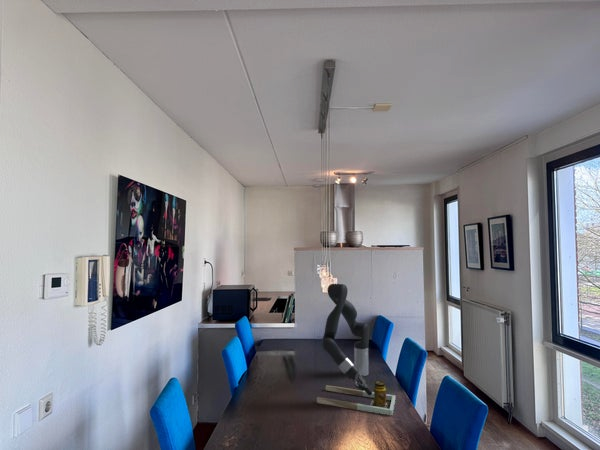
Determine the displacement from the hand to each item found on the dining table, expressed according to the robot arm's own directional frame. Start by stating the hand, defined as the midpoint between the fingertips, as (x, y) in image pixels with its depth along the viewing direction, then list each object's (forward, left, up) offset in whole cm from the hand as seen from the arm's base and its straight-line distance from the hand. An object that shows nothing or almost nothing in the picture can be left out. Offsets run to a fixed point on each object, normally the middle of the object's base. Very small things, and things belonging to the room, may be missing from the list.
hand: (370, 394), depth 183 cm
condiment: (0, +4, -5) cm, 7 cm away
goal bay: (0, +2, -5) cm, 6 cm away
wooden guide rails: (0, -17, -5) cm, 17 cm away
